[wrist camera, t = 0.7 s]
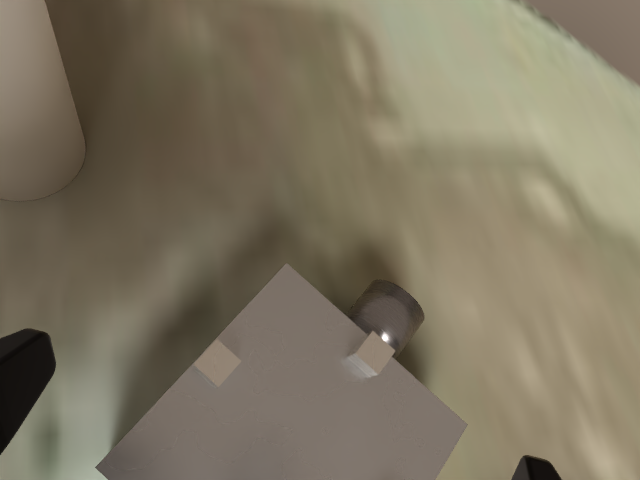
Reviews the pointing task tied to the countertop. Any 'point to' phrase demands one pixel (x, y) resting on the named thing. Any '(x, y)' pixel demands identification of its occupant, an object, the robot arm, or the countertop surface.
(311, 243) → the countertop surface
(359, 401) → the studded square plate
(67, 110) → the white bottle
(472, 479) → the countertop surface
